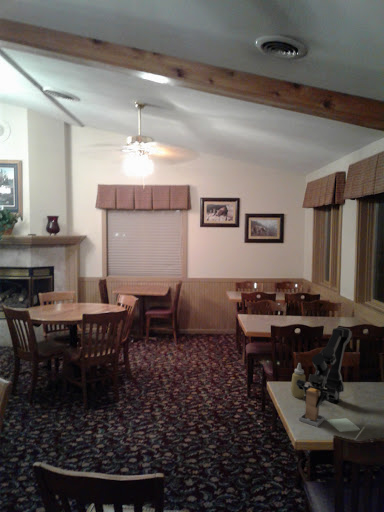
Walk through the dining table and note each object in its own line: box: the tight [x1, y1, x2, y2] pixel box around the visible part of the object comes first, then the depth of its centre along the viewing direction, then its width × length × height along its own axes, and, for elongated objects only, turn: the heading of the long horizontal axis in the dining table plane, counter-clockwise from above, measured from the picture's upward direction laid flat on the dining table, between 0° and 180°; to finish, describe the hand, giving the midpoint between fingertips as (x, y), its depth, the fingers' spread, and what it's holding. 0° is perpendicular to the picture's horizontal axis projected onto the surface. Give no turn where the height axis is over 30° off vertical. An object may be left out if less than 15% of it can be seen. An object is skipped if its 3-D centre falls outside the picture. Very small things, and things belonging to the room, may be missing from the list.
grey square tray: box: [298, 411, 325, 428], centre depth 179 cm, size 9×9×2 cm
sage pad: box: [326, 417, 361, 433], centre depth 175 cm, size 10×10×1 cm
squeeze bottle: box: [290, 362, 307, 399], centre depth 206 cm, size 8×8×18 cm
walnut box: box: [304, 388, 320, 421], centre depth 178 cm, size 4×4×13 cm
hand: (311, 405), depth 177 cm, fingers closed on walnut box, 4 cm apart
